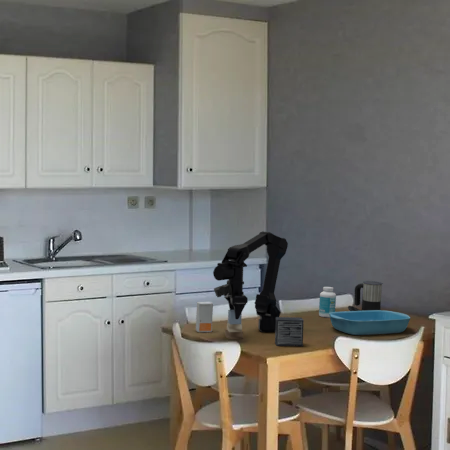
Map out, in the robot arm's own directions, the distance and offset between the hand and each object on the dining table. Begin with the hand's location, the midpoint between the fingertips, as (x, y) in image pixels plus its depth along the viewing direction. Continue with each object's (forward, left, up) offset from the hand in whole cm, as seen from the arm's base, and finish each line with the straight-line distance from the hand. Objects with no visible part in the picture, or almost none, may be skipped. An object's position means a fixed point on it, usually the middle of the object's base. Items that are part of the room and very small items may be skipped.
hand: (234, 317), depth 357 cm
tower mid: (0, 0, -6) cm, 6 cm away
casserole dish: (-62, -12, -9) cm, 63 cm away
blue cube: (0, 0, -2) cm, 3 cm away
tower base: (0, 0, -8) cm, 9 cm away
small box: (-19, +14, -8) cm, 25 cm away
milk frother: (-74, -49, -8) cm, 89 cm away
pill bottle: (-53, -43, -8) cm, 69 cm away
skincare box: (+10, -12, -8) cm, 18 cm away
